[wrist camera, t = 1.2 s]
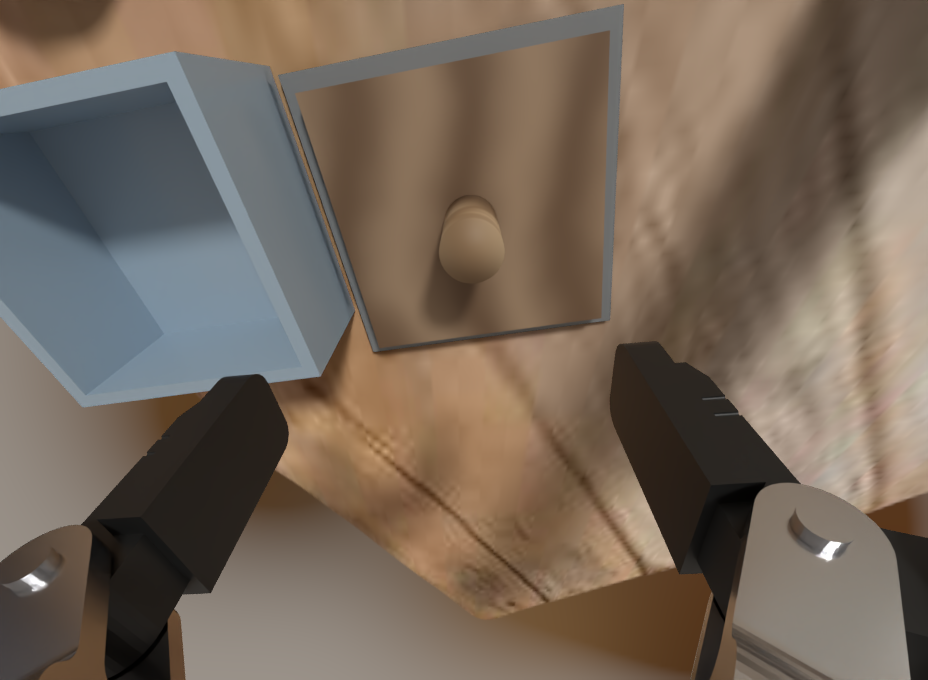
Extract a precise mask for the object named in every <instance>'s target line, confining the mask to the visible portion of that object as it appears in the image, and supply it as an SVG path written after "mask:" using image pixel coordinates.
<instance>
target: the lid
mask: <svg viewBox="0 0 928 680" xmlns="http://www.w3.org/2000/svg"><path fill="white" fill-rule="evenodd" d="M609 47H610V30H609V31H604V32H599V33H594V34H589V35H584V36H579V37H574V38H569V39H564V40H559V41H554V42H549V43H544V44H539V45H534V46H529V47H524V48H519V49H514V50H509V51H504V52H499V53H494V54H489V55H484V56H479V57H474V58H469V59H464V60H459V61H454V62H449V63H444V64H439V65H434V66H429V67H424V68H419V69H414V70H409V71H404V72H399V73H394V74H389V75H384V76H379V77H374V78H369V79H364V80H359V81H354V82H349V83H344V84H339V85H334V86H329V87H324V88H319V89H314V90H309V91H304V92H299V93H295V95H296V98H297V101H298V104H299V107H300V110H301V113H302V116H303V119H304V122H305V125H306V128H307V131H308V135H309V138H310V141H311V144H312V147H313V150H314V153H315V156H316V159H317V162H318V165H319V168H320V171H321V174H322V177H323V180H324V183H325V186H326V189H327V192H328V195H329V198H330V201H331V204H332V207H333V210H334V213H335V216H336V219H337V222H338V225H339V228H340V231H341V234H342V237H343V240H344V243H345V246H346V249H347V252H348V255H349V258H350V261H351V264H352V267H353V270H354V273H355V276H356V279H357V282H358V285H359V288H360V291H361V294H362V297H363V300H364V303H365V306H366V309H367V312H368V315H369V318H370V321H371V324H372V327H373V330H374V333H375V336H376V339H377V342H378V345H379V348H385V347H392V346H399V345H407V344H414V343H422V342H429V341H436V340H444V339H451V338H459V337H466V336H473V335H481V334H488V333H496V332H503V331H510V330H518V329H525V328H532V327H540V326H547V325H555V324H562V323H569V322H577V321H584V320H592V319H599V318H601V314H602V281H603V247H604V214H605V181H606V147H607V114H608V80H609Z"/></svg>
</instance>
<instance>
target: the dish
mask: <svg viewBox="0 0 928 680" xmlns="http://www.w3.org/2000/svg"><path fill="white" fill-rule="evenodd" d="M354 312H355V309H354V306H353V303H352V300H351V297H350V295H349V292H348V289H347V286H346V283H345V280H344V277H343V275H342V272H341V269H340V266H339V263H338V260H337V257H336V255H335V252H334V249H333V246H332V243H331V240H330V238H329V235H328V232H327V229H326V226H325V223H324V220H323V218H322V215H321V212H320V209H319V206H318V203H317V200H316V198H315V195H314V192H313V189H312V186H311V183H310V181H309V178H308V175H307V172H306V169H305V166H304V163H303V161H302V158H301V155H300V152H299V149H298V146H297V143H296V141H295V138H294V135H293V132H292V129H291V126H290V124H289V121H288V118H287V115H286V112H285V109H284V106H283V104H282V101H281V98H280V95H279V92H278V89H277V86H276V84H275V81H274V78H273V75H272V72H271V69H270V66H265V65H258V64H252V63H245V62H239V61H233V60H226V59H220V58H214V57H207V56H201V55H194V54H188V53H182V52H175V51H174V52H169V53H165V54H160V55H155V56H151V57H146V58H142V59H137V60H132V61H128V62H123V63H119V64H114V65H109V66H105V67H100V68H96V69H91V70H86V71H82V72H77V73H72V74H68V75H63V76H59V77H54V78H49V79H45V80H40V81H36V82H31V83H26V84H22V85H17V86H12V87H8V88H3V89H0V317H1V318H2V319H3V320H4V321H5V322H6V323H7V325H8V326H9V327H10V328H11V329H12V330H13V331H14V332H15V333H16V335H17V336H18V337H19V338H20V339H21V340H22V341H23V342H24V343H25V344H26V346H27V347H28V348H29V349H30V350H31V351H32V352H33V353H34V354H35V355H36V357H37V358H38V359H39V360H40V361H41V362H42V363H43V364H44V365H45V366H46V367H47V369H48V370H49V371H50V372H51V373H52V374H53V375H54V376H55V377H56V379H57V380H58V381H59V382H60V383H61V384H62V385H63V386H64V387H65V389H66V390H67V391H68V392H69V393H70V394H71V395H72V396H73V397H74V398H75V399H76V400H77V402H78V403H79V404H80V405H81V406H82V407H89V406H96V405H105V404H112V403H120V402H128V401H135V400H143V399H151V398H158V397H165V396H174V395H181V394H189V393H197V392H204V391H210V390H211V389H212V387H213V386H214V385H215V384H216V383H217V382H218V381H219V380H220V379H221V378H223V377H226V376H237V375H249V374H260V375H262V376H263V377H264V378H265V379H266V380H267V382H268V383H273V382H281V381H289V380H296V379H304V378H312V377H319V376H321V375H322V373H323V371H324V369H325V367H326V365H327V363H328V361H329V359H330V358H331V356H332V354H333V352H334V350H335V348H336V346H337V344H338V342H339V340H340V338H341V336H342V335H343V333H344V331H345V329H346V327H347V325H348V323H349V321H350V319H351V317H352V315H353V313H354Z"/></svg>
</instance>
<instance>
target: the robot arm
mask: <svg viewBox="0 0 928 680" xmlns="http://www.w3.org/2000/svg"><path fill="white" fill-rule="evenodd" d="M610 411H611V417H612V421H613V424H614V427H615V429H616V432H617V434H618V436H619V438H620V441H621V443H622V445H623V447H624V450H625V452H626V454H627V457H628V459H629V461H630V463H631V466H632V468H633V470H634V472H635V475H636V477H637V479H638V481H639V484H640V486H641V488H642V491H643V493H644V495H645V497H646V500H647V502H648V504H649V506H650V509H651V511H652V513H653V515H654V518H655V520H656V522H657V525H658V527H659V529H660V531H661V534H662V536H663V538H664V540H665V543H666V545H667V547H668V550H669V552H670V554H671V556H672V559H673V561H674V563H675V565H676V568H677V570H678V572H679V574H697V573H703V575H704V577H705V578H706V580H707V583H708V585H709V587H710V589H711V591H712V593H711V596H710V598H709V602H708V606H707V611H706V615H705V619H704V623H703V628H702V632H701V636H700V640H699V645H698V649H697V653H696V658H695V662H694V666H693V671H692V675H691V680H928V538H925V537H920V536H915V535H910V534H906V533H901V532H896V531H891V530H886V529H882V528H879V527H878V526H877V525H876V524H875V523H874V522H873V521H872V520H871V519H870V518H869V517H868V516H866V515H865V514H864V513H863V512H861V511H860V510H859V509H857V508H856V507H854V506H853V505H851V504H850V503H848V502H846V501H845V500H843V499H841V498H839V497H837V496H835V495H833V494H831V493H828V492H826V491H823V490H821V489H818V488H815V487H811V486H807V485H803V484H801V483H800V482H799V481H798V480H797V479H796V478H795V477H794V476H793V474H792V473H791V472H790V471H789V470H788V469H787V467H786V466H785V465H784V464H783V463H782V462H781V460H780V459H779V458H778V457H777V456H776V455H775V453H774V452H773V451H772V450H771V449H770V448H769V446H768V445H767V444H766V443H765V442H764V441H763V439H762V438H761V437H760V436H759V435H758V434H757V432H756V431H755V430H754V429H753V428H752V427H751V425H750V424H749V423H748V422H747V421H746V420H745V418H744V417H743V416H742V415H741V416H739V414H738V410H737V409H736V408H735V407H734V406H733V404H732V403H731V402H730V401H729V400H728V399H725V395H724V394H723V393H722V392H721V390H720V389H719V388H718V387H717V386H716V385H715V383H714V382H713V381H712V380H711V379H710V378H709V377H708V376H707V375H705V374H703V373H702V372H700V371H699V370H697V369H695V368H694V367H692V366H690V365H689V364H687V363H686V362H685V363H674V361H673V360H672V359H671V358H670V356H669V355H668V354H667V352H666V351H665V350H664V349H663V347H662V346H661V345H660V344H659V343H658V342H656V341H652V342H640V343H629V344H619V345H618V346H617V349H616V353H615V360H614V369H613V377H612V386H611V394H610ZM288 436H289V431H288V425H287V422H286V420H285V417H284V415H283V413H282V411H281V409H280V407H279V405H278V403H277V401H276V399H275V397H274V395H273V392H272V390H271V388H270V386H269V384H268V382H267V380H266V379H265V378H264V377H263V376H262V375H260V374H249V375H237V376H226V377H223V378H221V379H220V380H219V381H218V382H217V383H216V384H215V385H214V386H213V387H212V389H211V390H210V391H209V392H208V393H207V394H206V395H205V397H204V398H203V399H202V400H201V401H200V402H199V403H197V404H196V405H195V406H193V407H192V408H190V409H189V410H188V411H186V412H185V413H183V414H182V415H181V416H179V417H178V418H177V419H176V421H175V422H174V423H173V424H172V425H171V426H170V427H169V428H168V430H166V432H165V433H164V434H163V435H162V439H161V440H158V441H157V442H156V443H155V444H154V445H153V446H152V447H151V448H150V449H149V450H148V452H147V456H143V457H142V458H141V459H140V460H139V462H138V463H137V464H136V465H135V466H134V467H133V468H132V469H131V470H130V472H129V473H128V474H127V475H126V476H125V477H124V478H123V479H122V480H121V481H120V482H119V484H118V485H117V486H116V487H115V488H114V489H113V490H112V491H111V492H110V493H109V495H108V496H107V497H106V498H105V499H104V500H103V501H102V502H101V503H100V505H99V506H98V507H97V508H96V509H95V510H94V511H93V512H92V513H91V515H90V516H89V517H88V518H87V519H86V520H85V521H84V522H83V523H82V524H81V525H69V526H64V527H60V528H57V529H55V530H52V531H49V532H47V533H45V534H42V535H41V536H39V537H37V538H35V539H33V540H31V541H29V542H28V543H26V544H24V545H23V546H21V547H20V548H18V549H17V550H16V551H14V552H13V553H11V554H10V555H9V556H8V557H6V558H5V559H4V560H2V561H1V562H0V680H185V668H184V655H183V642H182V630H181V620H180V616H179V614H178V612H177V611H176V610H175V609H174V608H175V606H176V605H177V603H178V601H179V599H180V597H181V596H182V594H203V593H211V592H212V590H213V588H214V585H215V584H216V582H217V580H218V578H219V576H220V574H221V572H222V570H223V568H224V567H225V565H226V562H227V561H228V559H229V557H230V555H231V553H232V551H233V549H234V547H235V545H236V543H237V541H238V540H239V537H240V536H241V534H242V532H243V530H244V528H245V526H246V524H247V522H248V520H249V518H250V516H251V514H252V512H253V511H254V508H255V507H256V505H257V503H258V501H259V499H260V497H261V495H262V493H263V491H264V489H265V487H266V486H267V484H268V482H269V480H270V478H271V476H272V474H273V472H274V470H275V468H276V466H277V464H278V462H279V461H280V459H281V457H282V455H283V453H284V451H285V449H286V446H287V443H288Z"/></svg>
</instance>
